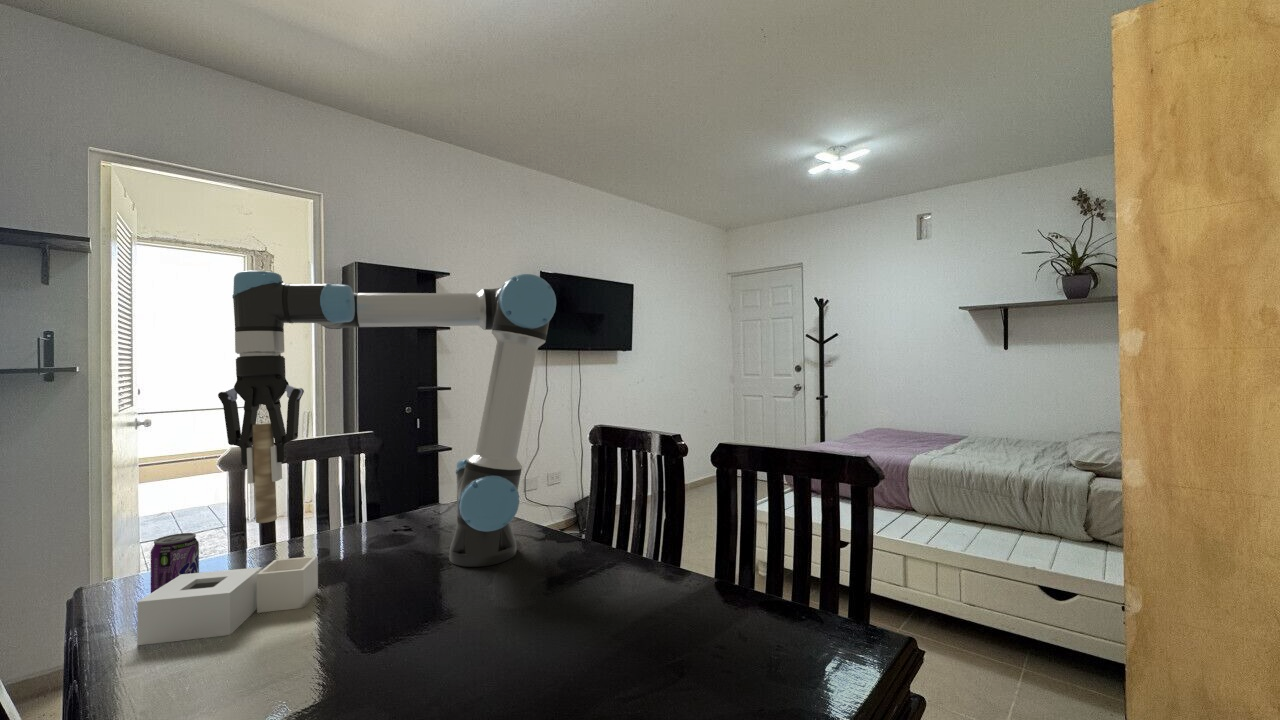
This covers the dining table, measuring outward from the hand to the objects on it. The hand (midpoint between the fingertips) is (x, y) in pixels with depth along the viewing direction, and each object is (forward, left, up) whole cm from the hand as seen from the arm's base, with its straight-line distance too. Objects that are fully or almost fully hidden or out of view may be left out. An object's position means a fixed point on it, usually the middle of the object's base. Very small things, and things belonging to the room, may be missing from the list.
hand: (265, 480), depth 100 cm
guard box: (+8, +4, -24) cm, 25 cm away
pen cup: (-3, -2, -24) cm, 24 cm away
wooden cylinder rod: (0, 0, -7) cm, 7 cm away
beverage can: (+19, -9, -24) cm, 32 cm away
